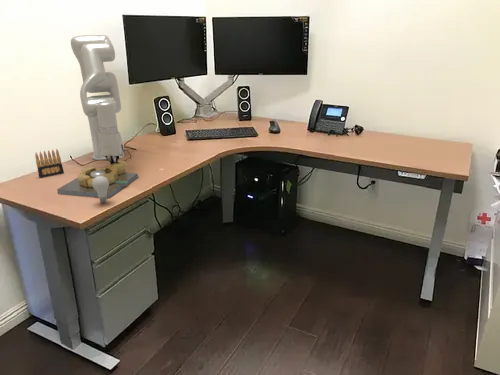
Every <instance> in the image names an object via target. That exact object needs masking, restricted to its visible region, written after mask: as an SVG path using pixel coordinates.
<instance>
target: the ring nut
mask: <svg viewBox="0 0 500 375" xmlns="http://www.w3.org/2000/svg"><path fill="white" fill-rule="evenodd" d="M96 170H104V171H105V174H104V175H101V176H104V177H106V178H107V179H108V181H109V184H111V183H114V182H115V181H117V179H118V175H119V174H122V173H128V171H127V165H126V161H125V160H119V161H118V162H117V163H113V164H110V163H109V165H106V166H104V167H97V168H96V167H95V166H91V167H87V168H84V169H82V170H81V171H82V172H81V173H80V174H79V175H77V178H78V181H79V185H82V186H85V187H93V186H92V182H93V180H94V178H91V174H90V173H91V172H92V171H96Z"/></svg>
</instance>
